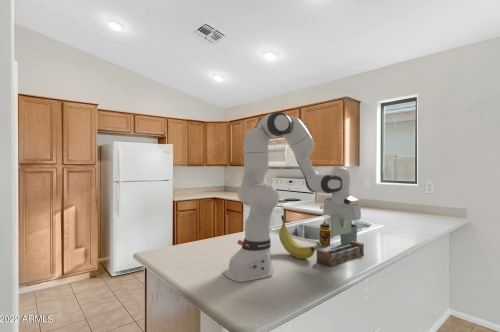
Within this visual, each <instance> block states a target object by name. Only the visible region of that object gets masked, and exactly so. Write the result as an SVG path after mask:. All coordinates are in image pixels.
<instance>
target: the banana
mask: <svg viewBox="0 0 500 332" xmlns="http://www.w3.org/2000/svg"><path fill="white" fill-rule="evenodd" d="M281 220H282V221H281V222H282V225H281V227H280V228H279V231H278V237H279V242H280V243H281V245H282V246H283V248H284V249H285V250H286V251H287V253H288V254H290V255H291V256H292V257H294V258H297V259H300V260H301V259H302V260H306V259H310V258H311V257H313V255H314V254H315V248H314V246H302V245H300V244H298V243H297V242H296V241H295V240H294V239H293V236H291V233H290V231H289V229H288V227H287V226H286V224H285V223H286V222H285V221H286V217H285V215H283V214H282V215H281Z"/></svg>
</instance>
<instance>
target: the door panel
mask: <svg viewBox="0 0 500 332" xmlns="http://www.w3.org/2000/svg"><path fill="white" fill-rule="evenodd" d="M343 222H344V221H343V218H340V214H334V215H330V216H329V227H330V228H329V229H330V237H331V236H332V237H337V236H340V235H341V234H346V233H350V232H351V224H352V220H349V219H348V222H347V223H346V227H345V228H344V227H342V225H341V224H342V223H343Z"/></svg>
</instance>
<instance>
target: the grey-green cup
mask: <svg viewBox="0 0 500 332" xmlns="http://www.w3.org/2000/svg"><path fill="white" fill-rule="evenodd" d="M339 237H340V245H341V246H340V247H343V246H347V245H350V241H355V242H358V241H357V239H358V238H357V237H358V224H353V223H351V232H350V233H346V234H341V235H339Z"/></svg>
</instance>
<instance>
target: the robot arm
mask: <svg viewBox="0 0 500 332" xmlns="http://www.w3.org/2000/svg"><path fill="white" fill-rule="evenodd" d="M279 137H283V138H284V139H285V141H286V142H287V144H288V146H289V147H290V150H291V151H292V153H293V155H294V157H295V161H296V162H297V165H298V166H299V167H298V168H299V169H300V171H301V173H302V175H303V177H304V181H305V186H306V188H307V189H308V191H310V192H311V193H321V194H331V197H326V198H324V200H323V208H322V213H323V215H324V216H329V217H330V215H334V214H340V218H343V221H344V222H343V223H342V224H341V225H342V227H344V228H345V227H346V223H347V222H348V219H349V220H351V221H355V222H357V221H360V220H361V217H362V215H361V214H362V211H361V207H360V205H359V204H360V199H359V198H357V197H354V196H352V195H351V191H350V187H351V177H350V170H349V169H347V168H346V167H344V166H343V167H342V166H333V167H332V168H331V170H329V171H327V172H325V173H320V172H317V171H316V170H315V168H314V166H313V164H312V162H311V160H310V155H311V154H312V153H313V151H314V149H315V142H314V139H313V137H312V135H311V133H310V132H309V130H308V128H307V127H306V126H305V125H304V123H303V122H302V121H301V120H300V119H299V118H298V117H296V116H291V117H290V116H288V114H286V113H285V112H282V111H274V112H272V113H268V114H266V115H264V116H262V117H261V118H260V119H258V121H257V123H256V125H255V126H254V127H252V128H250V129H248V130H247V131H246V132H245V136H244V142H243V143H244V144H243V176H242V179H241V180H242V181H241V185H240V187H239V188H238V189H237V196H238V200H239V201H240V202H241V203H242V204H243V205H245V206H247V207H249V212H248V216H247V218H246V219H245V221H244V231H245V232H244V239H243V240H241V239H238V240H237V242H236V243H237V245H240V246H241V248H239V250H237V252H236V253H234V254H233V255H232V256H231V258H230V259H229V263H228V268H225V269H224V270H223V274H224V276H225V277H226V278H228V279H230V280H231V281H234V282H237V283H244V282H248V281H254V280H260V279H265V278H269V277H272V276H273V274H272V273H273V272H274V267H273V266H274V265H273V263H272V257H271V247H272V246H271V245H272V244H271V238H270V235H271V233H270V232H271V230H270V228H271V227H270V224H271V223H270V222H271V217H272V214H273V211H274V209H275V208H276V207H277V205H278V204H279V201H280V194H279V192H278V190H277V189H276V188H274V187H273V186H271V185H269V184H264V181H265V177H266V175H267V173H268V171H269V168H270V165H269V162H270V161H269V160H270V159H269V143H270V140H271V139H274V138H275V139H276V138H279Z"/></svg>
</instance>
